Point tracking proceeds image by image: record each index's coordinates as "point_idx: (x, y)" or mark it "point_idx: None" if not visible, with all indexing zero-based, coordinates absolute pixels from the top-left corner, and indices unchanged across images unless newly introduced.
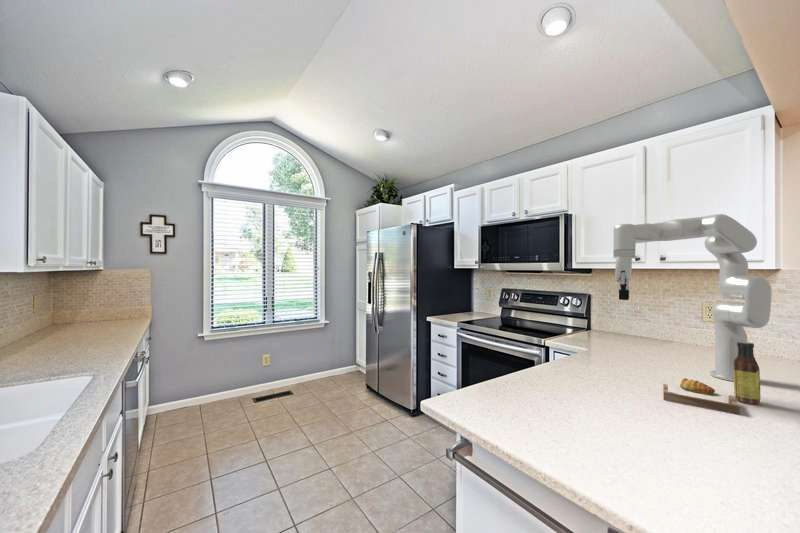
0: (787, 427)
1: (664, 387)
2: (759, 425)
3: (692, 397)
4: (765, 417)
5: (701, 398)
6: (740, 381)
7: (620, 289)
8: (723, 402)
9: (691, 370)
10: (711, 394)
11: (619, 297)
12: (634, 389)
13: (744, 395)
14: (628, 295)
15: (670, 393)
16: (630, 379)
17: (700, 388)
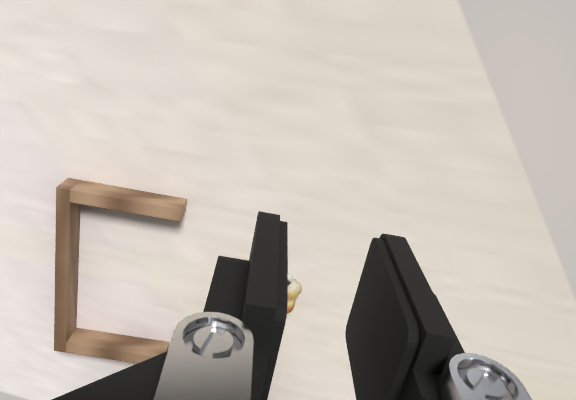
0: (34, 394)
1: (131, 203)
2: (3, 348)
3: (60, 260)
4: (85, 379)
5: (67, 281)
6: None
7: (185, 332)
8: (65, 324)
9: (551, 348)
10: None
11: (256, 230)
12: (140, 102)
13: None
14: (353, 375)
15: (60, 206)
16: (291, 109)
17: None
